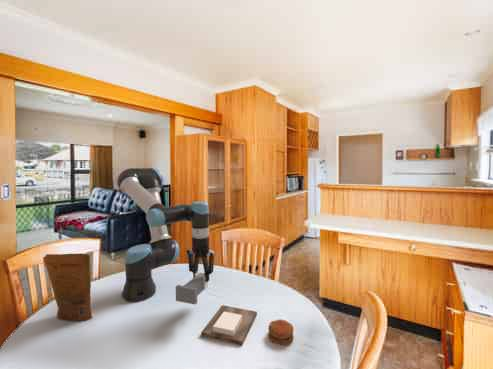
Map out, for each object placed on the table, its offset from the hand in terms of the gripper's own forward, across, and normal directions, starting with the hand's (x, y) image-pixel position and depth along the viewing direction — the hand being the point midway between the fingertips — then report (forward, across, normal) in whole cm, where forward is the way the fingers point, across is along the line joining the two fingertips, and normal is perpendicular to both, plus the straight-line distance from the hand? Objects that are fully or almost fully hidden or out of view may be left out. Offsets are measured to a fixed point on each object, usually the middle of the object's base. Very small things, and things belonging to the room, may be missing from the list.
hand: (201, 287), depth 112 cm
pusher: (0, 0, -5) cm, 5 cm away
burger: (+9, +38, -10) cm, 40 cm away
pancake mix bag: (+8, -46, -25) cm, 53 cm away
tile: (+6, +18, -7) cm, 20 cm away
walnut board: (+8, +18, -9) cm, 22 cm away
